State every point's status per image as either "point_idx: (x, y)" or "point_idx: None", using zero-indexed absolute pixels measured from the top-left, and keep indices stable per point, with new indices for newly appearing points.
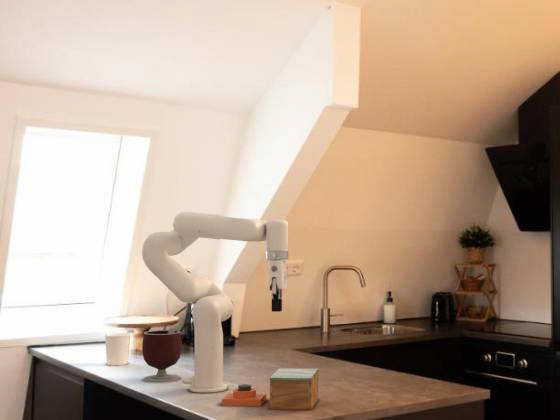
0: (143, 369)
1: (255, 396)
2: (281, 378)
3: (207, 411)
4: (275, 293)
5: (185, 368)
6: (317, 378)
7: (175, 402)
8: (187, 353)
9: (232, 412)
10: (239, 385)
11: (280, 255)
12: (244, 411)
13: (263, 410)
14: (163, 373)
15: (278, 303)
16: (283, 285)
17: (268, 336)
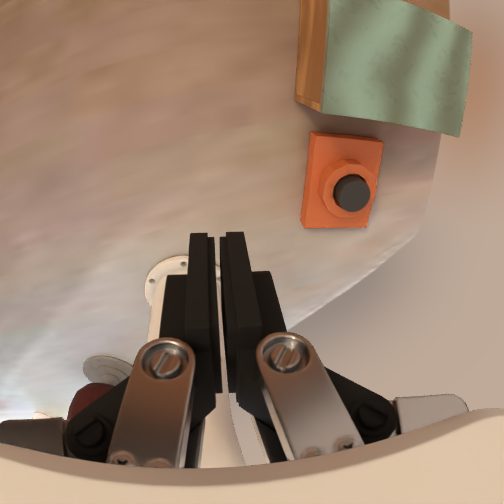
0: (57, 398)
1: (349, 159)
2: (463, 106)
3: (400, 233)
4: (460, 401)
5: (19, 360)
6: None
7: (316, 305)
8: None
9: (418, 188)
10: (352, 209)
11: None
12: (415, 166)
13: (413, 129)
14: (114, 380)
15: (270, 308)
16: (498, 498)
17: None
